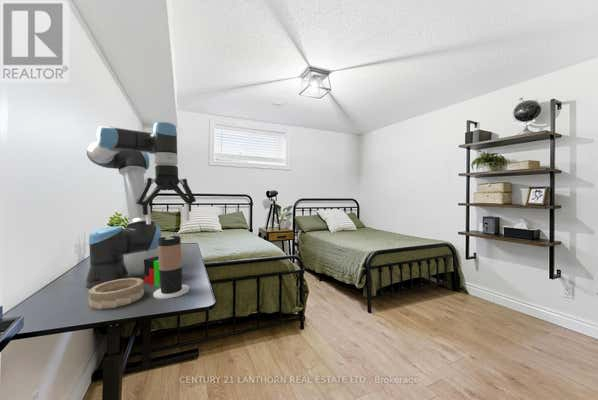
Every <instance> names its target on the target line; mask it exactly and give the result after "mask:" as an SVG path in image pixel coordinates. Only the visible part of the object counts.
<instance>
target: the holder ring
mask: <svg viewBox="0 0 598 400" xmlns="http://www.w3.org/2000/svg"><path fill="white" fill-rule="evenodd" d="M144 285H145V280H143V279H142V278H140V277H129V278H125V279H118V280H113V281H109V282H105V283H102V284H99V285H96V286H94V287H93V288H89V289H88V305H89V307H90V308H91V309H94V310H95V309H96V310H107V309H113V308H118V307H119V308H120V307H123V306H126V305H129V304H132V303H134V302H136V301H138V300H140V299H142V297H143V296H144V295H145V288H144V287H145V286H144Z"/></svg>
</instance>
